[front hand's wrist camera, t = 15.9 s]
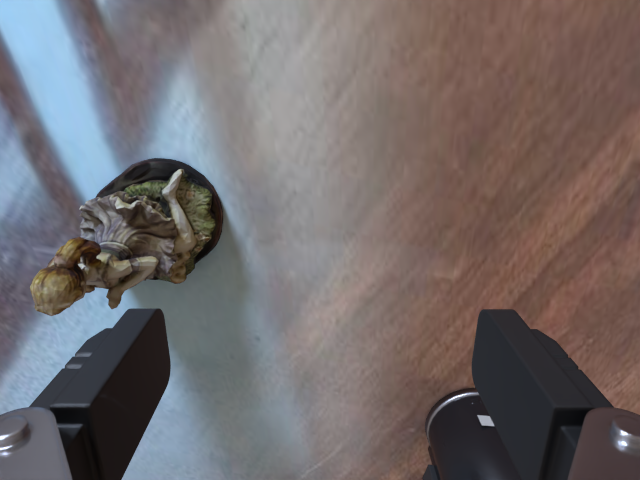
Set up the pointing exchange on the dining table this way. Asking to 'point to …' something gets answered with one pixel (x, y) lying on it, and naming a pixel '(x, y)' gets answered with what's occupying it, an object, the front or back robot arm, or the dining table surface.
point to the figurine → (134, 235)
